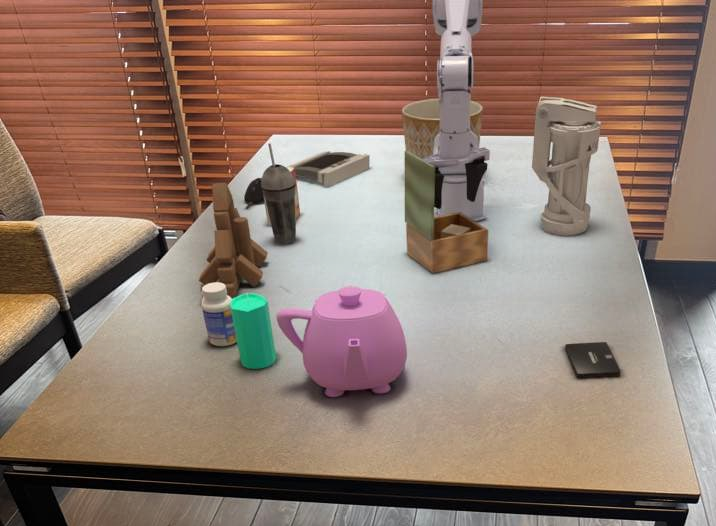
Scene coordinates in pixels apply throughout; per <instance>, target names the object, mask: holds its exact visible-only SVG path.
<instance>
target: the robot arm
mask: <svg viewBox="0 0 716 526" xmlns="http://www.w3.org/2000/svg"><path fill="white" fill-rule="evenodd" d="M483 1H484V0H432V19H433V28H434V29H435V34H436V35H439V36H441V38H440V50H439V51H440V52H439V53H440V54H439V56H440V57H439V59H437V62H436V87H437V94H438V98H439V104H440V133H439V134H438V135H437V136H436V137H435V140H434V149H433V156H430V157H427V158H424V159H423V160H424V161H426V162H428V163H430V164H431V165H433V166H435V196H434V209H437V210H439V212H436V213H434V217H439V216H444V215H448V214H453V213H458V212H461V213H462V214H464V215H466V216H467V217H469V218H470V219H472V220H474V221H475V222H478V221H483V220H485V219H486V218H485V216H484V195H485V190H484V189H485V187H484V182H483V178H484V176H485V174H486V172H487V171H488V165H489V164H488V163H487V162H486V161H490V156H491V155H490V154H491V149H489V148H487V147H485V146H484V147H480V146H479V147H478V138H477V135H476V134H474V133H473V132H472V131H471V130H470V106H471V101H472V99H471V98H472V92H473V88H474V68H475V62H474V57H473V53H472V50H473V49H472V43H473V42H472V41H473V40H472V37H473V36H475V35H477V34H478V33H479V32H480V29H481V27H482V17H483ZM470 144H471V145H470ZM473 148H474V149H473Z"/></svg>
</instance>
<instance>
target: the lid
mask: <svg viewBox="0 0 716 526" xmlns="http://www.w3.org/2000/svg"><path fill="white" fill-rule="evenodd" d="M434 196H435V166H433V165H431V164H430V163H428V162H426V161H424V160H423V159H421V158H419V157H417V156H416V155H414V154H412V153H410V152H409V151H406V150H404V223H405V224H406V223H407V224H408V225H410V226H411V227H413V228H414V229H415V230H417V231H418V232H420V233H421V234H422V235H424V236H425V237H427V238H428V239H429V240H434V214H435V207H434Z"/></svg>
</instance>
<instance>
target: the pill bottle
mask: <svg viewBox="0 0 716 526" xmlns="http://www.w3.org/2000/svg"><path fill="white" fill-rule="evenodd" d="M201 292H202V296H203V297H204V299H203V298H202V300H203V301H202V300H201V303H200V304H201V305H200V307H201V311H202V315H203V320H204V323H205V328H206V334H207V338H208V341H209V343H210V344H212V345H213V346H215V347H228V346H231V345H234V344H236V343H237V338H236V333H235V328H234V323H233V317H232V312H231V307H230V302H231V300H232V298H231V297H230V296H228V295H227V290H226V286H225V284H223V283H220V282H218V281H217V282H214V283H209V284H206V285H203V286H202V287H201Z"/></svg>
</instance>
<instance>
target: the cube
mask: <svg viewBox="0 0 716 526" xmlns="http://www.w3.org/2000/svg"><path fill="white" fill-rule="evenodd" d="M470 229H471V228H468V227H463V226H458V225H453V224H451V225H450V226H448V227H447V228H445V229H443V230H442V231H441V239H442V238H446V237H451V236H455V235H460V234H464V233H469V232H470Z"/></svg>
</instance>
